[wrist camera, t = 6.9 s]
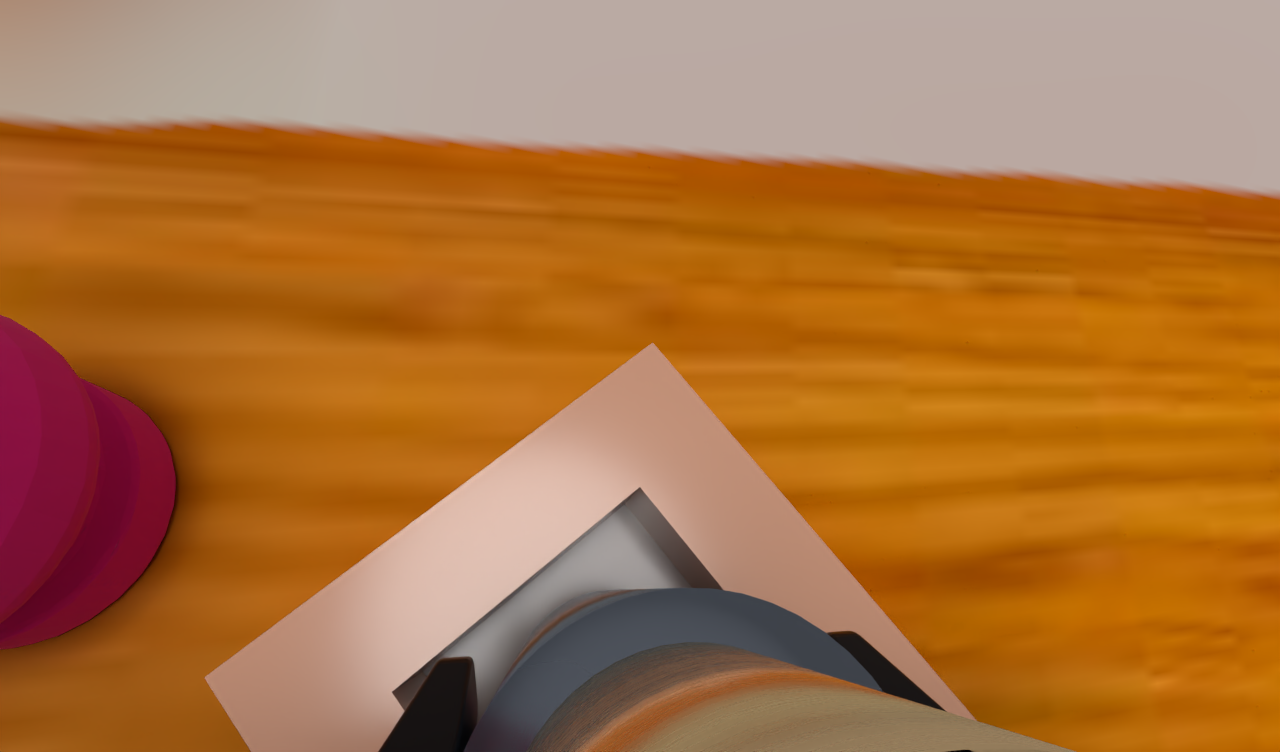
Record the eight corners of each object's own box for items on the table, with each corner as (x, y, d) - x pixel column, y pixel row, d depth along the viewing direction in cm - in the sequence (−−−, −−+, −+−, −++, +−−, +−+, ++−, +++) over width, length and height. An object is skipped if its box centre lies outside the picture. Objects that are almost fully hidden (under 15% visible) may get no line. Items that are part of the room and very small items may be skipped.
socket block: (905, 708, 17) (992, 739, 13) (567, 1092, 13) (571, 1256, 10) (635, 386, 18) (652, 342, 15) (279, 658, 15) (204, 677, 12)
